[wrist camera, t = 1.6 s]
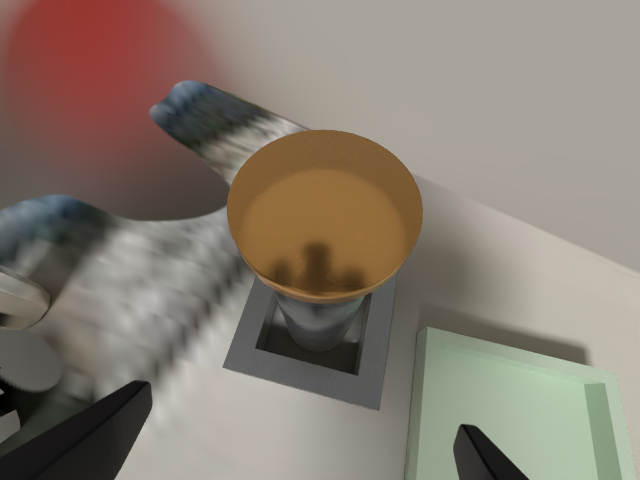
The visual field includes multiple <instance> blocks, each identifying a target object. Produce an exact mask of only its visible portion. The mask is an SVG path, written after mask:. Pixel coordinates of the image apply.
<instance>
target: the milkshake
mask: <svg viewBox="0 0 640 480" xmlns="http://www.w3.org/2000/svg"><path fill="white" fill-rule="evenodd" d="M50 296H51V295H50V294H49V293H48V292H47V291H46V290H45V289H44V288H43V287H42V286H40V285H38V284H36V283H34V282H33V281H31V280H29V279H27V278H25V277H23V276H21V275H19V274H17V273H15V272H14V271H12V270H10V269H8V268H6V267H4V266H2V265H0V328H2V329H20V330H23V329H25V328H27V327H29V326H31V325H33V324H35V323H37V322H38V321H39V320H40V319H41V318H42V316H43V315H44V314H45V313H46V311H47V310H48V309H49V304H50Z"/></svg>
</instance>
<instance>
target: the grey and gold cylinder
mask: <svg viewBox="0 0 640 480" xmlns="http://www.w3.org/2000/svg"><path fill="white" fill-rule="evenodd" d="M422 210H423V209H422V202H421V196H420V193H419V190H418V187H417V185H416V183H415V181H414V179H413V177H412V175H411V174H410V172H409V171H408V169H407V168H406V167H405V166H404V165H403V163H402V162H401V161H400V160H399V159H398V158H397V157H396V156H395V155H393V154H392V153H391V152H389V151H388V150H387V149H385V148H384V147H382V146H381V145H379V144H377V143H375V142H373V141H371V140H369V139H366V138H364V137H361V136H358V135H355V134H351V133H347V132H342V131H335V130H311V131H303V132H298V133H294V134H290V135H287V136H284V137H282V138H279V139H277V140H275V141H273V142H271V143H269V144H267V145H266V146H264V147H262V148H261V149H260V150H258V151H257V152H256V153H254V154H253V155H252V156H251V157H250V158H249V159H248V160H247V161H246V162H245V163H244V165H243V166H242V167H241V168H240V170H239V171H238V173H237V175H236V177H235V178H234V180H233V183H232V185H231V188H230V191H229V196H228V202H227V217H228V223H229V227H230V231H231V234H232V236H233V238H234V241H235V243H236V245H237V247H238V249H239V251H240V253H241V255H242V257H243V259H244V260H245V262H246V263H247V265H248V267H249V268H250V269H251V270H252V272H253V273H254V274H255V275H256V276H257V277H258V278H259V279H260V280H261V281H262V282H264V283H265V284H266V285H267V286H269V287H271V288H272V289H274V292H275V294H276V297H277V300H278V303H279V305H280V308H281V311H282V314H283V316H284V319H285V322H286V325H287V327H288V330H289V333H290V335H291V337H292V338H293V340H294V341H295V342H296V343H297V344H298V345H299V346H301V347H302V348H304V349H306V350H309V351H314V352H322V351H327V350H329V349H332V348H333V347H335V346H336V345H338V344H339V343H340V342H341V341H342V339H343V338H344V336H345V334H346V332H347V331H348V329H349V327H350V325H351V323H352V321H353V319H354V317H355V315H356V313H357V311H358V309H359V307H360V305H361V303H362V301H363V299H364V297H365V295H367V294H369V293H371V292H373V291H375V290H377V289H378V288H379V287H381V286H382V285H384V284H385V283H386V282H387V281H388V280H389V279H390V278H392V277H393V276H394V275H395V273H396V272H397V271H398V269H399V268H400V267H401V265H402V264H403V262H404V261H405V259H406V258H407V256H408V255H409V253H410V252H411V250H412V248H413V247H414V245H415V243H416V241H417V238H418V236H419V233H420V229H421V224H422Z"/></svg>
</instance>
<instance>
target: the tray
mask: <svg viewBox="0 0 640 480" xmlns="http://www.w3.org/2000/svg"><path fill="white" fill-rule="evenodd" d="M461 424H470V425H475V426H477V427H478V428H479V429H480V430H481V431H482V432H483V433H484V434H485V435H486V436H487V437H488V438H489V439H490V440H491V441H492V442H493V443H494V444H495V445H496V446H497V447H498V448H499V449H500V450H501V451H502V452H503V453H504V454H505V455H506V456H507V457H508V458H509V459H510V460H511V461H512V462H513V463H514V464H515V465H516V466H517V467H518V468H519V469H520V470H521V471H522V472H523V473H524V474H525V475H526V476H527V477H528V478H529V479H530V480H637V475H636V470H635V465H634V460H633V455H632V450H631V445H630V440H629V435H628V430H627V425H626V420H625V415H624V410H623V405H622V400H621V395H620V390H619V385H618V380H617V375H616V373H615V372H611V371H607V370H603V369H599V368H595V367H591V366H587V365H583V364H579V363H575V362H571V361H566V360H562V359H558V358H554V357H550V356H546V355H542V354H538V353H534V352H530V351H526V350H522V349H518V348H514V347H510V346H506V345H501V344H497V343H493V342H489V341H485V340H481V339H477V338H473V337H469V336H465V335H461V334H457V333H453V332H449V331H445V330H441V329H436V328H432V327H426V328H424V329H423V330H421V331H420V332H418V333H417V344H416V355H415V366H414V377H413V389H412V400H411V411H410V422H409V433H408V444H407V455H406V466H405V477H404V480H459V477H458V472H457V467H456V463H455V458H454V453H453V445H454V441H455V438H456V435H457V431H458V428H459V426H460V425H461Z"/></svg>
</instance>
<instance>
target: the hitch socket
mask: <svg viewBox="0 0 640 480" xmlns="http://www.w3.org/2000/svg"><path fill="white" fill-rule="evenodd" d="M397 273H398V271H397V272H396V273H395V275H394V276H393V277H392V278H390V279H389V280H388V281H387V282H386V283H385V284H384V285H382V286H381V287H379V288H378V289H377V290H375V291H373V292H371V293H369V294H368V297H367V303H366V308H365V314H364V320H363V325H362V331H361V337H360V342H359V348H358V354H357V360H356V365H355V371H354V375H353V374H349V373H345V372H341V371H338V370H334V369H330V368H326V367H323V366H319V365H315V364H311V363H308V362H304V361H300V360H297V359H293V358H289V357H285V356H282V355H278V354H274V353H270V352H267V351H263V350H262V349H263V346H264V343H265V339H266V336H267V333H268V330H269V327H270V324H271V321H272V317H273V314H274V311H275V308H276V305H277V302H278V300H277V297H276V294H275V292H274V289H272V288H271V287H269V286H267V285H266V284H265V283H264V282H262V281H261V280H260V279H259V278H258V277H257V276H256V278H255V281H254V283H253V286H252V289H251V291H250V294H249V297H248V300H247V302H246V305H245V308H244V311H243V313H242V316H241V319H240V321H239V324H238V327H237V330H236V332H235V335H234V338H233V340H232V343H231V346H230V349H229V351H228V354H227V357H226V359H225V362H224V365H223V368H225V369H228V370H231V371H235V372H238V373H242V374H246V375H249V376H253V377H256V378H260V379H264V380H267V381H271V382H274V383H278V384H282V385H285V386H289V387H293V388H296V389H300V390H303V391H307V392H311V393H314V394H318V395H321V396H325V397H329V398H332V399H336V400H339V401H343V402H347V403H350V404H354V405H358V406H361V407H365V408H368V409H372V410H377V411H379V409H380V401H381V394H382V386H383V379H384V371H385V364H386V356H387V349H388V341H389V333H390V326H391V318H392V311H393V303H394V296H395V288H396V281H397Z"/></svg>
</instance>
